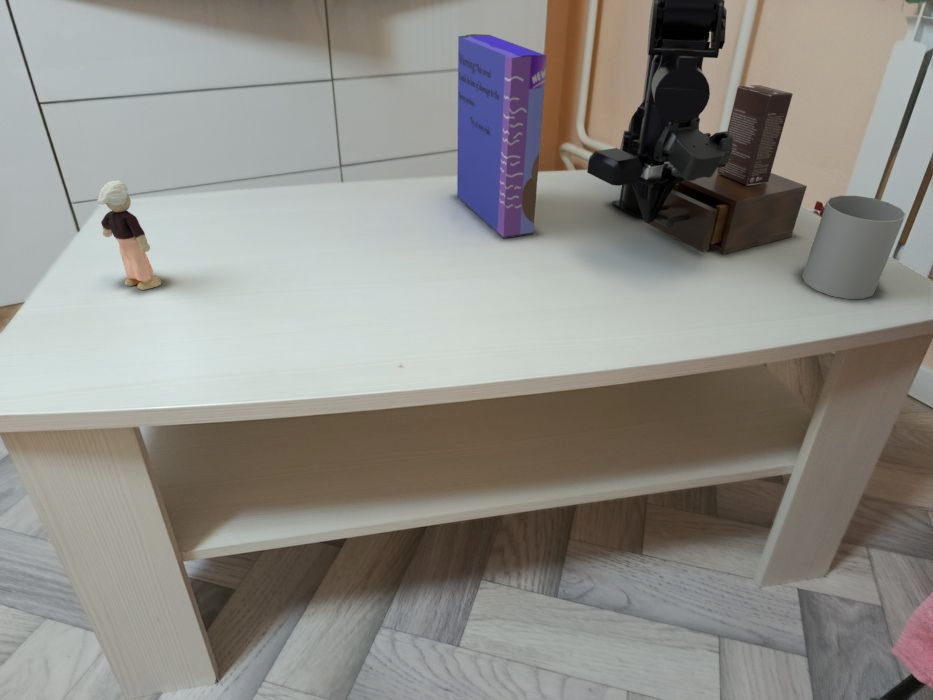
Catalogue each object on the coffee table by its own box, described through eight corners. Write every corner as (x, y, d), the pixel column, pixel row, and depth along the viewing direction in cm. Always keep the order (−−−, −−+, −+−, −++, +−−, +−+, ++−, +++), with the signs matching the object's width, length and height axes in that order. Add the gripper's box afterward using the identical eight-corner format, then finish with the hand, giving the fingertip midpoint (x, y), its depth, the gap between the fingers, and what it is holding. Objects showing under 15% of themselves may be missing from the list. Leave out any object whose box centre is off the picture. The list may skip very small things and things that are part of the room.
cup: (883, 302, 80) (915, 224, 74) (811, 295, 81) (837, 218, 76) (863, 271, 87) (891, 198, 81) (796, 265, 88) (820, 192, 83)
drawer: (677, 258, 87) (686, 216, 84) (622, 227, 96) (628, 188, 93) (766, 235, 94) (777, 196, 91) (707, 208, 102) (715, 171, 99)
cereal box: (533, 233, 95) (546, 53, 82) (503, 238, 94) (512, 56, 81) (484, 193, 109) (489, 33, 96) (457, 197, 107) (458, 34, 94)
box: (770, 182, 93) (795, 92, 86) (745, 187, 91) (769, 95, 84) (738, 169, 97) (760, 83, 91) (715, 173, 96) (735, 85, 89)
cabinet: (723, 254, 91) (736, 201, 86) (660, 222, 100) (669, 172, 96) (791, 236, 96) (807, 185, 92) (725, 207, 105) (737, 160, 101)
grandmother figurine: (176, 280, 82) (151, 180, 75) (155, 294, 79) (126, 191, 72) (126, 270, 84) (97, 172, 77) (103, 283, 81) (70, 182, 74)
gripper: (654, 126, 71) (632, 258, 80) (776, 109, 79) (743, 231, 87) (592, 103, 80) (578, 225, 88) (707, 90, 87) (684, 203, 96)
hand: (648, 221), depth 90 cm, fingers closed
